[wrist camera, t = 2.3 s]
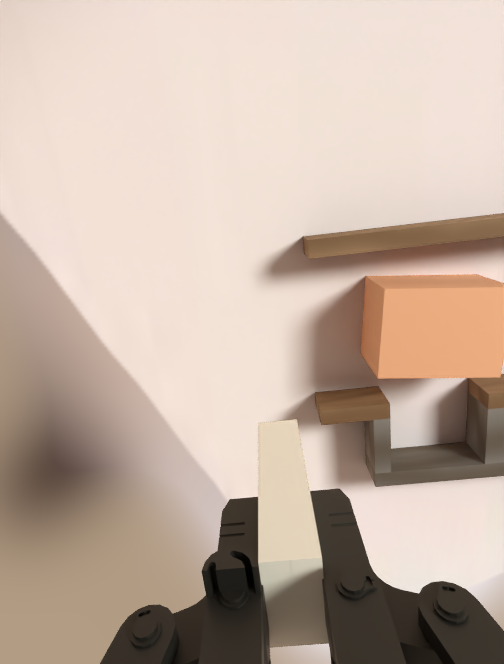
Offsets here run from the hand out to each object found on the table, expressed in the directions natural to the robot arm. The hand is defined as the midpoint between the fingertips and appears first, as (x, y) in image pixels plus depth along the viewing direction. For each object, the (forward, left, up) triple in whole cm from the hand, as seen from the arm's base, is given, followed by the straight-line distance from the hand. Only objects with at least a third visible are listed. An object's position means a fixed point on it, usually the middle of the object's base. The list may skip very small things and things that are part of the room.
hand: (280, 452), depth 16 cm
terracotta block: (0, +11, -16) cm, 20 cm away
